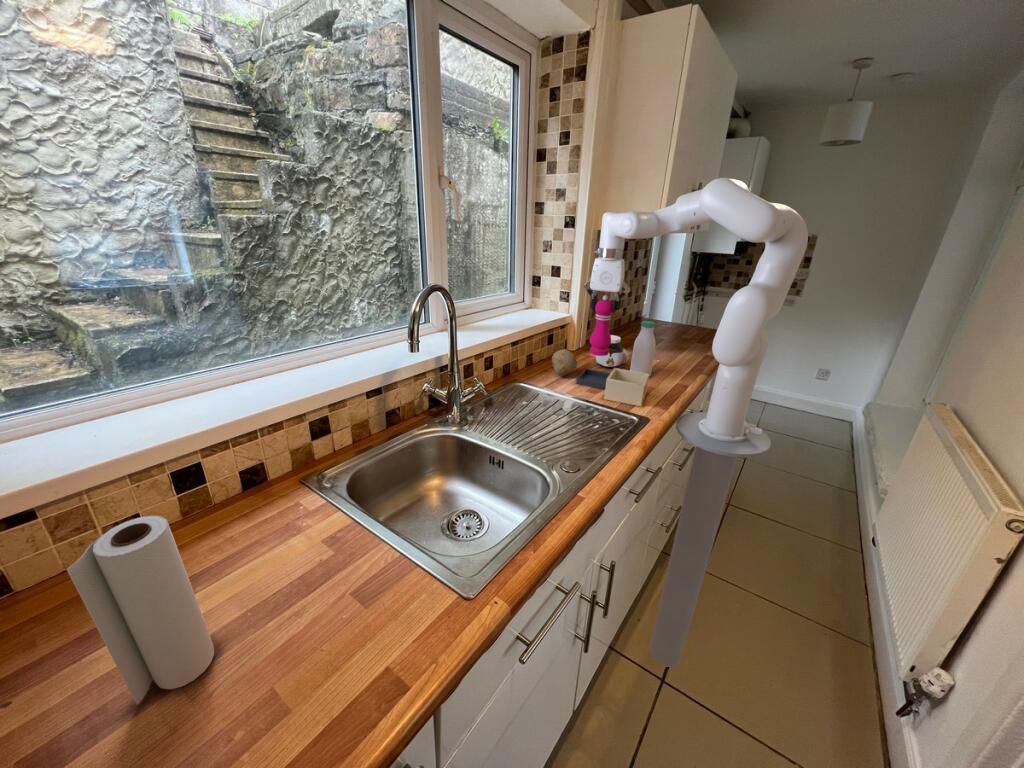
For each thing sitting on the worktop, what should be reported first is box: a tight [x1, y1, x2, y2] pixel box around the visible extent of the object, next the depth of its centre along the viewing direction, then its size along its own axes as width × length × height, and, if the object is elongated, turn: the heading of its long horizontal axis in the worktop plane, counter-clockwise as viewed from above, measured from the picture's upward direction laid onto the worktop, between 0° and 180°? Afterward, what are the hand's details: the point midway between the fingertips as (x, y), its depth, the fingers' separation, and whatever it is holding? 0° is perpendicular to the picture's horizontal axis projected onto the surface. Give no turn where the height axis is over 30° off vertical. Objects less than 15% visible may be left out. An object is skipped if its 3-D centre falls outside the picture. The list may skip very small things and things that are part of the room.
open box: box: [603, 367, 651, 407], centre depth 132 cm, size 12×12×7 cm
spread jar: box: [595, 334, 630, 370], centre depth 159 cm, size 12×11×12 cm
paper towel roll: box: [66, 515, 215, 705], centre depth 47 cm, size 7×6×21 cm
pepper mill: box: [589, 294, 613, 357], centre depth 137 cm, size 7×7×20 cm
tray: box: [576, 368, 611, 390], centre depth 144 cm, size 11×11×2 cm
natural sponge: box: [551, 348, 578, 377], centre depth 147 cm, size 9×9×10 cm
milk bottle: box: [629, 320, 657, 377], centre depth 149 cm, size 8×8×20 cm
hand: (604, 310), depth 135 cm, fingers closed on pepper mill, 6 cm apart
